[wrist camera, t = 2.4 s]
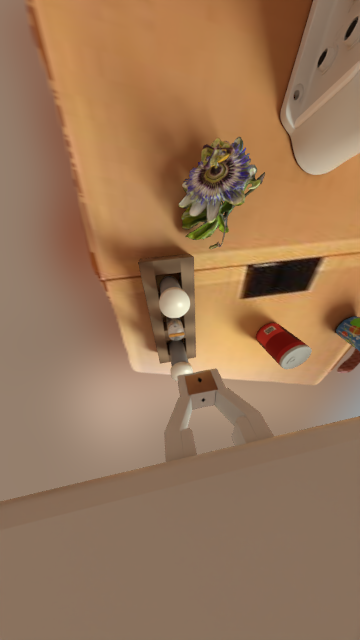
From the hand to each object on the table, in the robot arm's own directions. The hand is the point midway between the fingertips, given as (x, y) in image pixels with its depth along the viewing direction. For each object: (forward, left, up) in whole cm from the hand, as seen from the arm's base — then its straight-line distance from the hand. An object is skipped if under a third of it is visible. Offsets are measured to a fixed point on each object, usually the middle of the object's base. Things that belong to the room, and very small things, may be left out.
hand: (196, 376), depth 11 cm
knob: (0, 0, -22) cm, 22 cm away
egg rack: (+8, 0, -25) cm, 26 cm away
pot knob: (+8, 0, -22) cm, 23 cm away
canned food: (+20, +29, -25) cm, 43 cm away
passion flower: (-13, +9, -25) cm, 30 cm away
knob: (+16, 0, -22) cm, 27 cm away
